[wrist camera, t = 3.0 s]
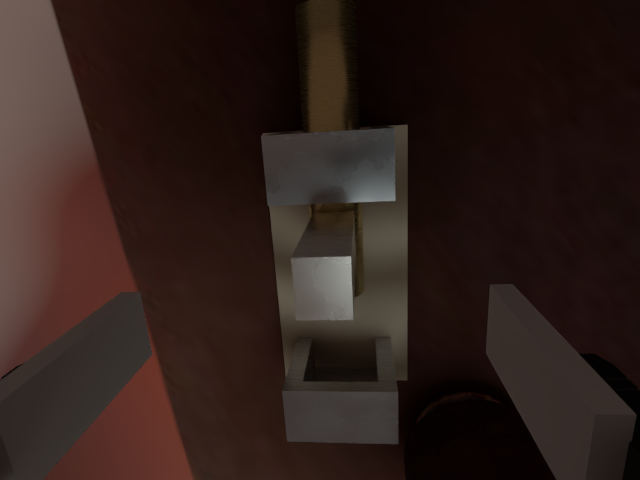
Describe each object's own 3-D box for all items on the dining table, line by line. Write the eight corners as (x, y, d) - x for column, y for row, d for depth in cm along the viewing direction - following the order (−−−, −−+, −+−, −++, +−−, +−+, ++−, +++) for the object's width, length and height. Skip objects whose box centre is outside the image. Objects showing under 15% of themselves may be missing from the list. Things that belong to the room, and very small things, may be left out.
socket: (297, 336, 33) (282, 391, 26) (390, 336, 32) (398, 392, 25) (301, 379, 34) (287, 441, 27) (391, 380, 33) (398, 444, 26)
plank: (266, 132, 29) (262, 133, 28) (405, 124, 28) (407, 124, 27) (288, 370, 35) (286, 379, 34) (405, 371, 34) (407, 380, 33)
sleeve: (280, 132, 28) (260, 135, 23) (387, 126, 27) (394, 127, 22) (285, 189, 29) (267, 205, 24) (388, 184, 28) (395, 200, 23)
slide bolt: (299, 17, 26) (249, -66, 14) (356, 11, 25) (352, -78, 14) (316, 280, 31) (290, 377, 19) (364, 279, 30) (366, 378, 19)
